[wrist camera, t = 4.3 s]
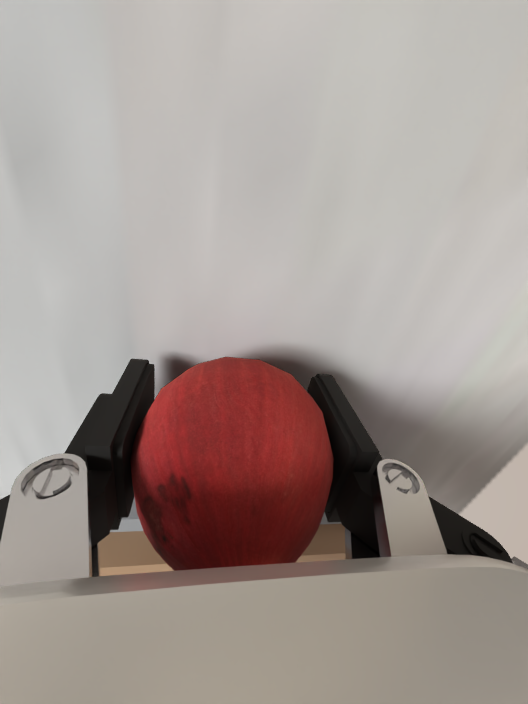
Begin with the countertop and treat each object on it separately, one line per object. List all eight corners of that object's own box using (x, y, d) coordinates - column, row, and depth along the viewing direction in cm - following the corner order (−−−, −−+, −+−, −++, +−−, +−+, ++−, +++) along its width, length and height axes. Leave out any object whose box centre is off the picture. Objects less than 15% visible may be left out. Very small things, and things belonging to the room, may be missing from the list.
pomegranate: (194, 447, 13) (166, 716, 7) (130, 348, 10) (-41, 645, 4) (310, 409, 13) (409, 645, 6) (278, 298, 10) (396, 510, 3)
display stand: (86, 454, 13) (32, 558, 9) (364, 459, 16) (408, 539, 12) (109, 597, 19) (83, 692, 16) (302, 582, 22) (319, 658, 18)
